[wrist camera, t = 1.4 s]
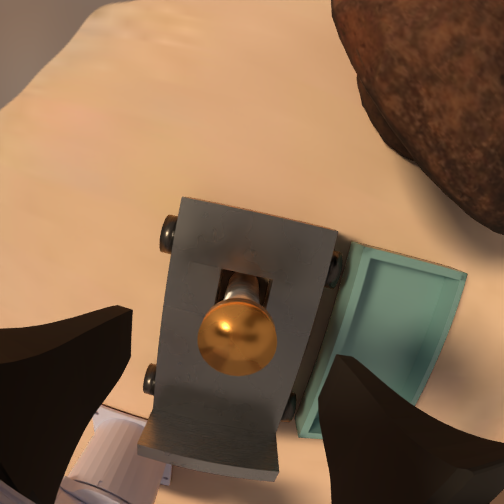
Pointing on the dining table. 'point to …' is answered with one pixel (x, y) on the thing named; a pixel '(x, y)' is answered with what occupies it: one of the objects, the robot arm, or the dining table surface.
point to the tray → (385, 324)
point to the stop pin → (238, 330)
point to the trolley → (190, 319)
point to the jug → (435, 90)
